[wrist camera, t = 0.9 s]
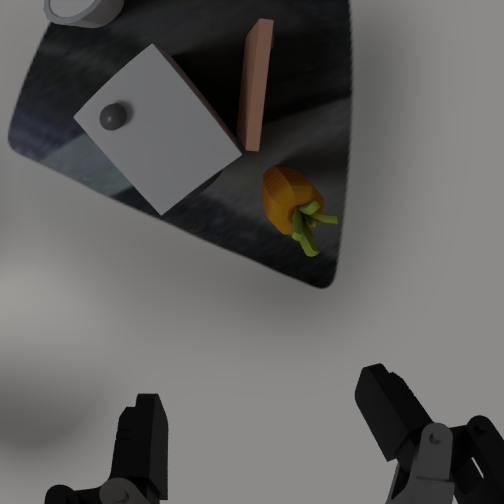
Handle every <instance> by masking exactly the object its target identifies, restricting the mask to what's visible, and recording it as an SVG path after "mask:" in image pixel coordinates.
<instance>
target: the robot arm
mask: <svg viewBox="0 0 504 504" xmlns="http://www.w3.org/2000/svg"><path fill="white" fill-rule="evenodd" d="M355 400H356V403H357V406H358V407H359V409H360V411H361V413H362V415H363V417H364V419H365V420H366V422H367V424H368V426H369V428H370V430H371V432H372V434H373V435H374V437H375V439H376V441H377V443H378V445H379V447H380V449H381V451H382V453H383V455H384V457H385V459H386V460H387V462H388V461H391V460H393V459H397V460H398V464H397V467H396V471H395V474H394V478H393V482H392V485H391V488H390V493H389V495H388V499H387V501H386V503H385V504H452V501H453V495H454V496H455V498H456V500H457V502H458V504H504V440H503V438H502V437H501V435H500V434H499V432H498V431H497V430H496V428H495V426H494V425H493V424H492V422H491V421H490V420H489V419H488V418H487V417H485V416H481V415H479V416H474V417H473V418H471V419H470V421H469V422H468V423H467V425H463V426H458V427H452V428H448V427H447V426H445V425H444V424H442V423H434V422H433V421H432V420H431V418H430V417H429V415H428V414H427V412H426V411H425V409H424V408H423V407H422V405H421V404H420V403H419V401H418V399H417V398H416V397H415V396H414V394H413V393H412V391H411V390H410V389H409V387H408V386H407V384H406V383H405V381H404V380H403V379H402V378H400V377H399V376H398V375H397V374H395V373H394V372H391V373H389V372H388V371H387V370H386V368H385V367H384V366H383V365H382V364H381V363H379V364H375V365H371V366H367V367H364V368H363V369H362V371H361V374H360V377H359V381H358V384H357V387H356V390H355ZM117 429H118V431H117V434H116V440H115V446H114V453H113V459H112V468H111V473H110V476H109V478H108V480H107V481H106V482H105V483H104V484H103V485H102V486H100V487H97V488H93V489H86V490H77V491H74V490H72V489H71V488H70V487H68V486H65V485H55V486H53V487H51V488H50V489H49V490H48V491H47V493H46V496H45V503H44V504H160V502H159V501H160V500H168V486H167V485H168V482H167V481H168V478H167V477H168V474H167V473H168V471H167V470H168V469H167V467H168V421H167V417H166V414H165V411H164V408H163V406H162V403H161V400H160V398H159V395H158V394H138V395H137V399H136V406H135V407H126V408H125V410H124V411H123V413H122V414H121V415H120V417H119V422H118V428H117ZM472 457H473V458H474V459H475V461H476V463H477V465H478V466H479V468H480V470H481V472H482V473H483V478H482V476H481V474H480V473H479V471H478V469H477V467H476V466H475V464H474V462H473V460H472V459H471V458H472Z"/></svg>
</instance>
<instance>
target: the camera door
mask: <svg viewBox="0 0 504 504" xmlns="http://www.w3.org/2000/svg"><path fill="white" fill-rule="evenodd" d="M273 21H274V20H268V19H259V20H258V22H257V23H256V24H255V25H254V27H253V28H252V29H251V31H250V32H249V33H248V35H247V36H246V41H245V49H244V59H243V68H242V77H241V87H240V97H239V108H238V118H237V129H236V133H237V135H238V136H239V138H240V140H241V142H242V144H243V146H244V148H245V150H247V151H259V145H260V136H261V127H262V118H263V109H264V100H265V91H266V82H267V73H268V65H269V56H270V49H272V48H273V44H274V35H272V30H273Z"/></svg>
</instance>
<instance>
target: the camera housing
mask: <svg viewBox="0 0 504 504" xmlns="http://www.w3.org/2000/svg"><path fill="white" fill-rule="evenodd" d="M74 119H75V120H76V121H77V122H78V123H79V124H80V126H81V127H82V128H83V129H84V130H85V131H86V133H87V134H88V135H89V136H90V137H91V138H92V140H93V141H94V142H95V143H96V144H97V145H98V146H99V148H100V149H101V150H102V151H103V152H104V153H105V154H106V156H107V157H108V158H109V159H110V160H111V161H112V162H113V163H114V165H115V166H116V167H117V168H118V169H119V170H120V171H121V172H122V173H123V175H124V176H125V177H126V178H127V179H128V180H129V181H130V182H131V183H132V184H133V186H134V187H135V188H136V189H137V190H138V191H139V192H140V193H141V194H142V195H143V196H144V198H145V199H146V200H147V201H148V202H149V203H150V204H151V205H152V206H153V207H154V208H155V209H156V210H157V212H158V213H159V214H160V215H162V214H164V213H165V212H166V211H167V210H169V209H170V208H171V207H172V206H174V205H175V204H176V203H177V202H179V201H180V200H181V199H183V198H185V199H189V198H192V197H194V196H196V195H197V194H199V193H200V192H202V191H203V190H204V189H206V188H207V187H208V186H209V185H210V184H212V183H213V182H214V181H215V180H216V179H217V178H218V176H219V175H220V174H221V172H222V170H223V168H224V167H226V166H227V165H228V164H230V163H231V162H233V161H234V160H235V159H237V158H238V157H240V156H241V155H242V154H241V151H240V149H239V147H238V144H237V142H236V140H235V137H234V135H233V133H232V132H231V131H230V129H229V128H228V127H227V125H226V124H225V123H224V121H223V120H222V119H221V118H220V116H219V115H218V114H217V112H216V111H215V110H214V109H213V107H212V106H211V105H210V103H209V102H208V101H207V100H206V98H205V97H204V96H203V95H202V93H201V92H200V91H199V90H198V88H197V87H196V86H195V85H194V84H193V82H192V81H191V80H190V79H189V77H188V76H187V75H186V74H185V73H184V71H183V70H182V69H181V68H180V67H179V65H178V64H177V63H176V62H175V61H174V59H173V58H172V57H171V56H170V55H168V54H167V53H165V52H164V51H163V50H161V49H160V48H158V47H157V46H155V45H154V44H151V45H150V46H149V47H147V48H146V49H145V50H144V51H142V52H141V53H140V54H139V55H137V56H136V57H135V58H134V59H133V60H131V61H130V62H129V63H128V64H127V65H126V66H124V67H123V68H122V69H121V70H120V71H119V72H118V73H117V74H115V75H114V76H113V77H112V78H111V79H110V80H109V81H108V82H107V83H106V84H105V85H104V86H103V87H102V88H101V89H100V90H99V91H98V92H97V93H96V94H95V95H94V96H93V97H92V98H91V99H90V100H89V101H88V102H87V103H86V104H85V105H84V106H83V107H82V108H81V109H80V110H79V111H78V113H77V114H76V115H75V116H74Z"/></svg>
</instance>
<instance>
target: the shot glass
mask: <svg viewBox="0 0 504 504" xmlns="http://www.w3.org/2000/svg"><path fill="white" fill-rule="evenodd" d="M123 5H124V0H45V1H44V12H45V14H46V17H47V19H49V20H50V21H52V22H53V23H55V24H64V25H73V26H81V27H89V28H97V27H101V26H104V25H106V24H108V23H109V22H111V21H113V20H114V19H115V17H116V16H117V15H118V14H119V13H120V12H121V9H122V7H123Z"/></svg>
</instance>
